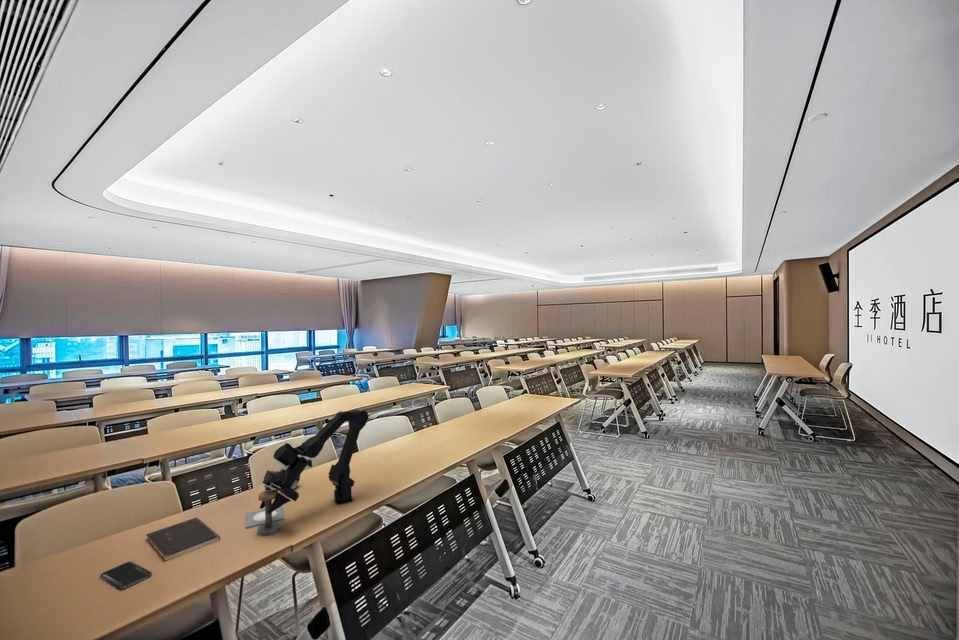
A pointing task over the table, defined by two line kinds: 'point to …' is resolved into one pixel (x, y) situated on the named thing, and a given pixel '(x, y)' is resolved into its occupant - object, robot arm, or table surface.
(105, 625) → the table surface
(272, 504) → the robot arm
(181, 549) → the hardcover book
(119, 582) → the phone
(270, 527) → the stool
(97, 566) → the table surface
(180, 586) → the table surface
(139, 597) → the table surface
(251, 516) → the mat
